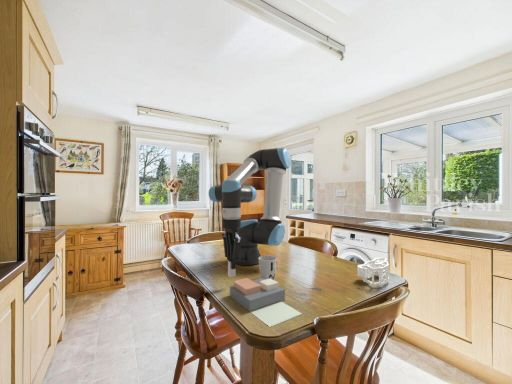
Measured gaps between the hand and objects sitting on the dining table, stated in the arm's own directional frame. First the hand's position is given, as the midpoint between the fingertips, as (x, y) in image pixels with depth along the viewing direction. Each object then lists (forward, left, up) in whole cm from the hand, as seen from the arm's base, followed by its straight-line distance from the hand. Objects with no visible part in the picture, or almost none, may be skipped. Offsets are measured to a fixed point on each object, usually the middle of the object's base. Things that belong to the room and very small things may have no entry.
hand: (231, 276), depth 95 cm
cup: (+1, +18, -6) cm, 18 cm away
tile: (+11, 0, -1) cm, 11 cm away
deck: (+13, +4, -5) cm, 14 cm away
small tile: (+15, +8, -1) cm, 17 cm away
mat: (+25, +3, -5) cm, 26 cm away
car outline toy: (+27, +60, -6) cm, 66 cm away
